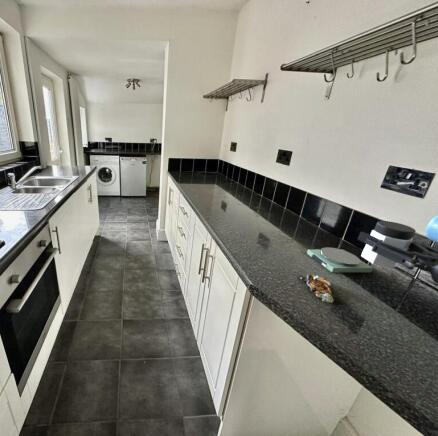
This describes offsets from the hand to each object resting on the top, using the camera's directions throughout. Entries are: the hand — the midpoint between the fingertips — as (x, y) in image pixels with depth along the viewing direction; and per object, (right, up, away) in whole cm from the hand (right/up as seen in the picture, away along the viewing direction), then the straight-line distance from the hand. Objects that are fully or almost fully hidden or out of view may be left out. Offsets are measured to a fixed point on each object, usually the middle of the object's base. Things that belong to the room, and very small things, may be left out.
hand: (372, 235), depth 74 cm
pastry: (-18, -18, -1) cm, 25 cm away
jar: (0, -8, -2) cm, 8 cm away
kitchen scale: (0, -12, +14) cm, 19 cm away
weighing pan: (0, -10, +13) cm, 16 cm away
